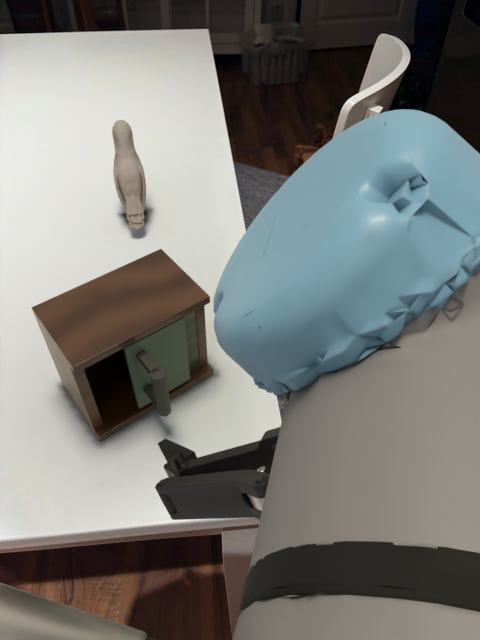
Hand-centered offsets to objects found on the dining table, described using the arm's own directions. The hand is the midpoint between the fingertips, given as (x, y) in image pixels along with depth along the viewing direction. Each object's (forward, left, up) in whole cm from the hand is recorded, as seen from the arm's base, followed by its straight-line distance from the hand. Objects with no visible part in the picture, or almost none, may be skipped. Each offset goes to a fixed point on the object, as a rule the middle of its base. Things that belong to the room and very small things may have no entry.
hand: (235, 411), depth 46 cm
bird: (-46, +24, -15) cm, 54 cm away
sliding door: (-12, +2, -14) cm, 18 cm away
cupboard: (-19, +2, -15) cm, 24 cm away
